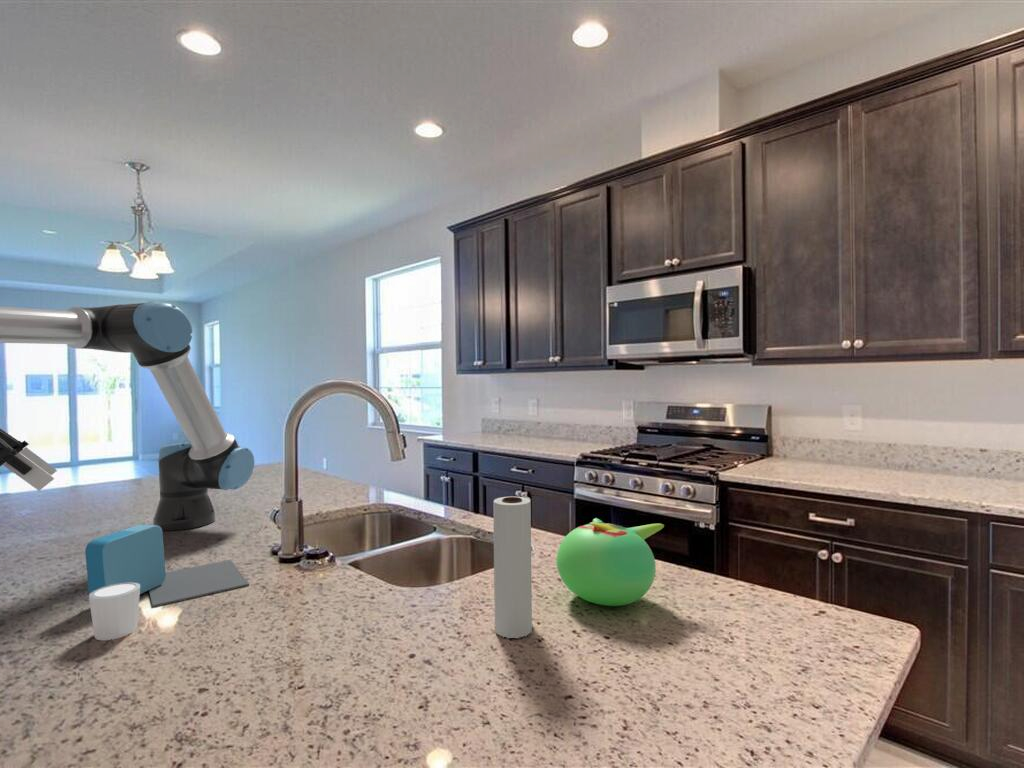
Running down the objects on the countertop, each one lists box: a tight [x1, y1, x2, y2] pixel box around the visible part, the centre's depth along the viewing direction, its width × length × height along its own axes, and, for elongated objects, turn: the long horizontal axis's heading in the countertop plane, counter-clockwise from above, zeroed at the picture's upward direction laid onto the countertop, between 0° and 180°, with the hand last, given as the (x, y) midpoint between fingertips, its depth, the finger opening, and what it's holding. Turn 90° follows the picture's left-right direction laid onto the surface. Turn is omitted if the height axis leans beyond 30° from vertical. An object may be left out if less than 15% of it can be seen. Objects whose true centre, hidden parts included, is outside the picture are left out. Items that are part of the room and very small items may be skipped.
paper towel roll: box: [492, 493, 533, 639], centre depth 88 cm, size 7×6×21 cm
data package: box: [84, 524, 166, 596], centre depth 104 cm, size 12×4×12 cm, turn 164°
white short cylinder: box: [88, 582, 141, 641], centre depth 89 cm, size 7×7×7 cm
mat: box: [148, 559, 250, 608], centre depth 111 cm, size 16×18×1 cm
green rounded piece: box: [556, 517, 665, 607], centre depth 100 cm, size 18×17×15 cm
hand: (49, 480), depth 98 cm, fingers open, 13 cm apart
